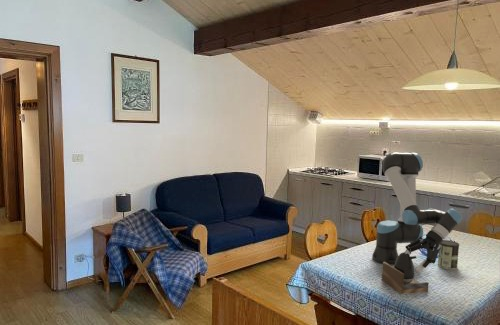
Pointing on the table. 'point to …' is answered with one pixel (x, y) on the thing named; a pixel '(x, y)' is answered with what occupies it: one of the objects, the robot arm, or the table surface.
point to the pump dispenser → (405, 266)
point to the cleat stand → (401, 281)
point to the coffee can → (448, 254)
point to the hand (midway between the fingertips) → (409, 265)
